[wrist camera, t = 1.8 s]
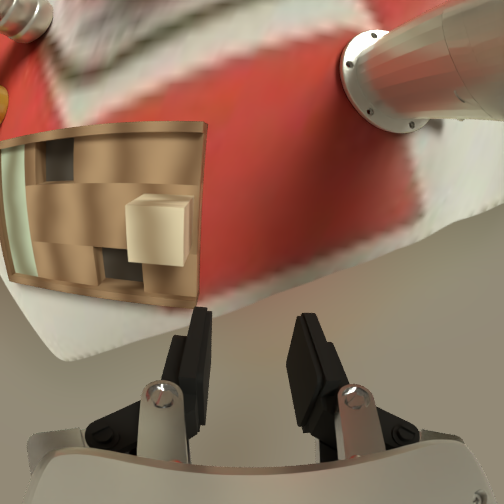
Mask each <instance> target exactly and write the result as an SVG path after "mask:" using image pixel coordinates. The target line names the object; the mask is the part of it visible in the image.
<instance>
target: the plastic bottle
mask: <svg viewBox="0 0 504 504" xmlns="http://www.w3.org/2000/svg"><path fill="white" fill-rule="evenodd" d="M52 18H53V7H52V5H51V4H50V3H49V2H48V1H47V0H0V33H1V34H3V35H6V36H8V37H9V38H10V39H12V40H13V41H15V42H17V43H30V42H32V41H34V40H36V39H38V38H39V37H40V36H41V35H42V34H43V33H44V32H45V31H46V30H47V28H48V27H49V25H50V23H51V21H52Z"/></svg>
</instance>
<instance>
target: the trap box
mask: <svg viewBox="0 0 504 504" xmlns="http://www.w3.org/2000/svg"><path fill="white" fill-rule="evenodd" d="M207 127H208V124H207V123H205V122H199V121H144V122H123V123H109V124H98V125H88V126H80V127H72V128H65V129H58V130H52V131H46V132H40V133H35V134H30V135H25V136H20V137H16V138H12V139H7V140H3V141H0V242H1V247H2V252H3V257H4V261H5V265H6V270H7V273H8V277H9V281H11V282H16V283H20V284H25V285H30V286H35V287H40V288H45V289H50V290H56V291H61V292H67V293H73V294H79V295H85V296H91V297H98V298H104V299H111V300H118V301H126V302H134V303H142V304H150V305H159V306H168V307H178V308H188V309H194V307H196V305H197V300H198V296H199V273H200V237H201V213H202V194H203V178H204V164H205V151H206V139H207ZM143 194H170V195H190V196H194V209H193V239H192V247H191V250H190V252H189V254H188V257H187V259H186V261H185V264H184V266H183V267H182V266H170V265H158V264H147V263H136V262H128V251H127V236H126V215H125V205H126V204H128V203H130V202H131V201H133V200H134V199H136V198H138V197H139V196H141V195H143Z"/></svg>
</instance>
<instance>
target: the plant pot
mask: <svg viewBox="0 0 504 504" xmlns="http://www.w3.org/2000/svg"><path fill="white" fill-rule="evenodd" d="M7 107H8V92H7V90H6V89H5V87H3V86H1V85H0V124H1V123H2V121H3V119H4V117H5V114H6V111H7Z"/></svg>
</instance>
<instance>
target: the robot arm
mask: <svg viewBox="0 0 504 504" xmlns="http://www.w3.org/2000/svg"><path fill="white" fill-rule="evenodd" d="M346 64H347V65H348V66H349V68H348V67H347V66H346ZM340 77H341V81H342V85H343V88H344V90H345V93H346V95H347V97H348V99H349V100H350V102H351V104H352V105H353V107H354V108H355V109H356V110H357V111H358V113H359V114H360V115H361V116H362V117H363V118H365V119H366V120H367V121H368V122H369V123H371V124H372V125H374V126H376V127H377V128H379V129H382V130H385V131H387V132H393V133H409V132H413V131H416V130H418V129H420V128H421V127H423V126H424V125H425V124H426V123H427V122H428V121H429V119H457V120H459V121H463V120H465V119H477V120H493V121H504V0H448V1H446V2H444V3H442V4H440V5H438V6H436V7H434V8H432V9H430V10H428V11H426V12H424V13H422V14H420V15H418V16H416V17H414V18H413V19H411V20H409V21H407V22H405V23H404V24H402V25H400V26H398V27H397V28H395V29H393V30H391V31H390V32H388V31H383V30H368V31H365V32H362V33H360V34H358V35H357V36H355V37H354V38H353V39H352V40H351V41H349V42H348V44H347V45H346V47H345V48H344V50H343V53H342V55H341V59H340ZM367 110H368V112H369V114H367ZM211 334H212V311H207V308H206V307H194V309H193V314H192V318H191V322H190V326H189V331H188V335H187V336H179V335H174V336H173V338H172V342H171V345H170V349H169V353H168V356H167V359H166V363H165V367H164V370H163V374H162V379H161V380H158V381H154V382H151V383H149V384H148V385H146V386H145V388H144V389H143V391H142V394H141V400H140V401H138V402H135V403H133V404H131V405H129V406H127V407H125V408H123V409H121V410H119V411H116V412H114V413H112V414H110V415H107V416H105V417H103V418H101V419H98V420H96V421H94V422H92V423H91V424H90V425H89V426H88V427H87V428H86V429H82V430H80V428H79V427H78V428H72V429H65V430H58V431H50V432H41V433H36V434H33V435H32V436H31V437H30V438H29V439H28V441H27V452H28V459H29V465H30V471H31V479H30V481H29V484H28V486H27V489H26V492H25V495H24V498H23V502H22V504H497V502H496V499H495V496H494V494H493V491H492V489H491V486H490V484H489V482H488V480H487V477H486V475H485V473H484V471H483V469H482V467H481V465H480V464H479V462H478V460H477V459H476V457H475V455H474V454H473V453H472V451H471V450H470V449H469V448H468V447H467V446H466V445H465V444H464V442H463V440H462V439H461V438H460V437H458V436H456V435H451V434H445V433H439V432H434V431H428V430H421V431H418V429H417V428H416V427H415V426H414V425H413V424H411V423H409V422H407V421H405V420H403V419H401V418H399V417H397V416H395V415H393V414H390V413H388V412H386V411H384V410H382V409H380V408H378V407H376V405H375V401H374V398H373V395H372V393H371V392H370V391H369V390H368V389H367V388H365V387H364V386H361V385H357V384H349V382H348V379H347V377H346V374H345V372H344V369H343V366H342V364H341V362H340V359H339V357H338V354H337V352H336V350H335V347H334V345H333V343H332V342H327V341H326V338H325V336H324V333H323V331H322V328H321V326H320V323H319V321H318V318H317V316H316V314H315V313H302V314H301V316H297V319H296V323H295V327H294V332H293V336H292V340H291V345H290V349H289V353H288V357H287V361H286V368H287V373H288V378H289V383H290V389H291V393H292V399H293V404H294V409H295V415H296V420H297V425H298V426H299V427H302V430H303V433H311V435H312V436H314V437H315V457H316V464H308V465H298V466H285V467H257V468H256V467H255V468H253V467H252V468H251V467H248V468H247V467H244V468H243V467H216V466H203V465H192V464H191V453H190V442H189V439H190V438H191V437H193V436H195V435H196V434H197V432H199V431H200V425H205V422H206V410H207V399H208V387H209V377H210V366H211V336H212V335H211Z"/></svg>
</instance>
